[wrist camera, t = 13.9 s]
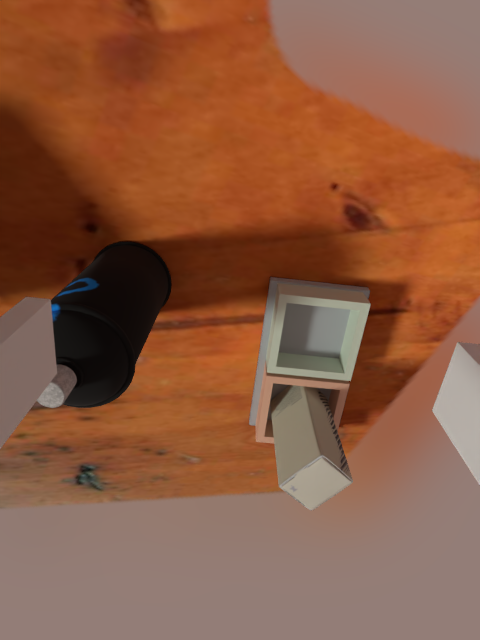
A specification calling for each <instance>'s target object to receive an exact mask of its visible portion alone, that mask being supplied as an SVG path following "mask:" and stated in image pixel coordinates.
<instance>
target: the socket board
mask: <svg viewBox="0 0 480 640" xmlns="http://www.w3.org/2000/svg"><path fill="white" fill-rule="evenodd" d="M369 294H370V290H369V289H368V287H359V286H350V285H341V284H331V283H322V282H313V281H304V280H295V279H285V278H276V277H270V282H269V289H268V296H267V303H266V309H265V316H264V323H263V330H262V337H261V343H260V350H259V357H258V364H257V371H256V377H255V384H254V391H253V398H252V405H251V412H250V418H249V425H256V442H265V443H274V435H273V425H272V416H271V406H270V401H271V400H272V399H274V398H275V397H276V396H277V395H278V394H280V393H281V392H282V391H283V390H284V389H286V388H287V387H288V386H289V385H296V386H306V387H315V388H317V389H318V390H319V391H320V392H321V393H322V394H323V395H325V396H326V397H327V400H328V404H329V407H330V410H331V413H332V416H333V419H334V423H335V426H336V429H337V432H338V428H339V424H340V420H341V416H342V412H343V409H344V405H345V401H346V397H347V393H348V389H349V386H350V383H349V381H351V378H352V374H353V370H354V366H355V363H356V359H357V355H358V351H359V347H360V343H361V339H362V336H363V332H364V328H365V324H366V320H367V316H368V313H369V309H370V305H371V303H370V302H369V300H368V298H369Z"/></svg>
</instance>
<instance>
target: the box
mask: <svg viewBox="0 0 480 640" xmlns="http://www.w3.org/2000/svg"><path fill="white" fill-rule="evenodd" d="M270 406H271V416H272V425H273V435H274V444H275V454H276V463H277V473H278V482H279V487H280V488H281V489H282V490H284V491H285V492H286V493H288V494H289V495H290V496H292V497H293V498H294V499H296V500H297V501H298V502H300V503H301V504H302V505H304V506H305V507H307V508H308V509H310V510H313V509H315V508H317V507H318V506H320V505H321V504H323V503H324V502H326V501H327V500H329V499H330V498H332V497H333V496H335V495H336V494H337V493H339V492H340V491H342V490H343V489H344V488H346V487H347V486H348V485H350V484H351V483H352V482H353V480H352V477H351V473H350V470H349V467H348V463H347V460H346V457H345V454H344V451H343V448H342V445H341V442H340V438H339V435H338V432H337V429H336V426H335V423H334V419H333V416H332V413H331V410H330V407H329V404H328V400H327V397H326V396H325V395H323V394H322V393H321V392H320V391H319V390H318V389H317V388H315V387H306V386H296V385H289V386H288V387H287V388H286V389H284V390H283V391H282V392H281V393H280V394H278V395H277V396H276V397H275V398H274V399H272V400H271V401H270Z"/></svg>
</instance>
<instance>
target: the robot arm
mask: <svg viewBox="0 0 480 640" xmlns="http://www.w3.org/2000/svg"><path fill="white" fill-rule="evenodd" d="M56 374H57V366H56V355H55V343H54V332H53V320H52V309H51V299H43V298H34V297H25V298H24V299H23V300H21V301H20V302H19V303H18V304H16V305H15V306H14V307H13V308H11V309H10V310H9V311H8V312H6V313H5V314H4V315H3V316H1V317H0V449H1V447H2V446H3V445H4V443H5V442H6V441H7V439H8V438H9V437H10V435H11V434H12V433H13V431H14V430H15V429H16V427H17V426H18V425H19V423H20V422H21V421H22V419H23V418H24V417H25V415H26V414H27V413H28V411H29V410H30V409H31V407H32V406H33V405H34V403H35V402H36V401H37V399H38V398H39V397H40V395H41V394H42V393H43V391H44V390H45V389H46V387H47V386H48V385H49V383H50V382H51V381H52V379H53V378H54V377H55V375H56ZM432 411H433V413H434V414H435V416H436V417H437V419H438V420H439V422H440V424H441V425H442V427H443V429H444V430H445V431H446V433H447V435H448V436H449V438H450V439H451V441H452V443H453V444H454V446H455V447H456V449H457V450H458V452H459V454H460V455H461V457H462V458H463V460H464V462H465V463H466V464H467V466H468V468H469V469H470V471H471V472H472V474H473V475H474V477H475V479H476V480H477V482H478V483H479V485H480V344H471V343H461V342H457V345H456V347H455V350H454V353H453V355H452V358H451V361H450V364H449V366H448V369H447V372H446V374H445V377H444V380H443V382H442V385H441V388H440V391H439V393H438V396H437V399H436V401H435V404H434V407H433V410H432Z"/></svg>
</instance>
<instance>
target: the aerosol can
mask: <svg viewBox="0 0 480 640" xmlns="http://www.w3.org/2000/svg"><path fill="white" fill-rule="evenodd" d="M170 292H171V277H170V273H169V270H168V268H167V266H166V264H165V262H164V261H163V260H162V258H161V257H160V256H159V255H158V254H157V253H156V252H155V251H153V250H152V249H150V248H148V247H147V246H144V245H142V244H139V243H135V242H118V243H113V244H111V245H109V246H107V247H105V248H104V249H103V250H101V251H100V252H99V253H98V255H97V256H96V257H95V259H94V261H93V262H92V263H91V264H90V265H89V266H88V267H87V268H86V269H85V270H84V271H82V272H81V273H80V274H79V275H78V276H77V277H76V278H75V279H74V280H73V281H72V282H71V283H69V284H68V285H67V286H66V287H65V288H64V289H63V290H62V291H61V292H60V293H59V294H57V295H56V296H55V297H54V298H53V299H52V300H51V309H52V320H53V332H54V343H55V355H56V366H57V374H56V375H55V377H54V378H53V379H52V381H51V382H50V383H49V385H48V386H47V387H46V389H45V390H44V391H43V393H42V394H41V395H40V397H39V398H38V399H37V401H38V402H39V403H40V404H42V405H44V406H46V407H51V408H54V407H58V406H61V405H62V404H64V405H67V406H73V407H79V408H90V407H96V406H101V405H104V404H107V403H110V402H111V401H113V400H115V399H116V398H118V397H119V396H120V395H121V394H122V393H123V392H124V391H125V390H126V389H127V388H128V386H129V385H130V383H131V381H132V379H133V376H134V373H135V364H136V361H137V359H138V357H139V355H140V353H141V350H142V348H143V346H144V344H145V342H146V340H147V337H148V335H149V333H150V331H151V329H152V326H153V324H154V322H155V320H156V318H157V316H158V313H159V311H160V309H161V308H162V307H163V306H164V305H165V303H166V301H167V300H168V298H169V295H170Z"/></svg>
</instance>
